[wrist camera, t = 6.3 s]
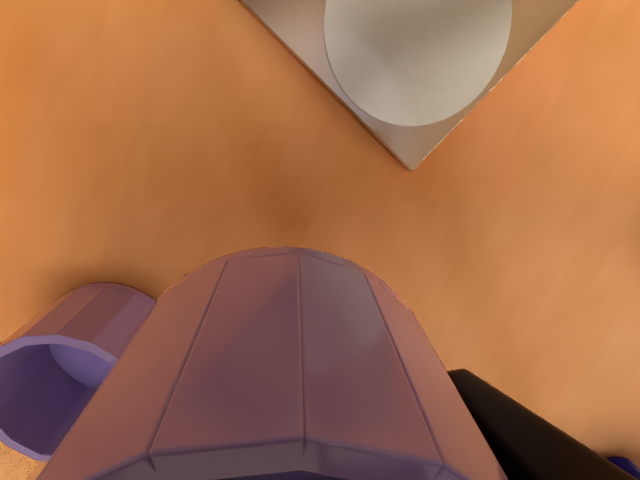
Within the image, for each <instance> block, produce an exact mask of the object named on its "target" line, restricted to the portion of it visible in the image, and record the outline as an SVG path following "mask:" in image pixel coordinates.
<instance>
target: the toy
mask: <svg viewBox="0 0 640 480" xmlns="http://www.w3.org/2000/svg"><path fill="white" fill-rule="evenodd" d="M607 460H608V461H610V462H611V463H613V464H614V465H616V466H618V467H619V468H621V469H622V470H624V471H625V472H627V473H628V474H630V475H632V476H633V477H635V478H636V479H638V480H640V471H639V469H638V468H637V467H636V466H635V465H634V464H633V463H632V462H631V461H630V460H628V459H626V458H623V457H612V458H608V459H607Z"/></svg>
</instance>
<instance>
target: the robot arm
mask: <svg viewBox="0 0 640 480" xmlns="http://www.w3.org/2000/svg"><path fill="white" fill-rule="evenodd" d="M447 373H448V375H449V377H450V378H451V380H452V382H453V383H454V385H455V387H456V389H457V390H458V392H459V394H460V396H461V397H462V399H463V401H464V403H465V404H466V406H467V408H468V410H469V411H470V413H471V415H472V417H473V418H474V420H475V422H476V424H477V425H478V427H479V429H480V431H481V432H482V434H483V436H484V438H485V439H486V441H487V443H488V445H489V446H490V448H491V450H492V452H493V453H494V455H495V457H496V459H497V460H498V462H499V464H500V466H501V467H502V469H503V471H504V473H505V474H506V476H507V478H508V480H638V479H636V478H635V477H633V476H632V475H630V474H628V473H627V472H625V471H624V470H622V469H621V468H619V467H618V466H616V465H614V464H613V463H611V462H610V461H608V460H607V459H605V458H604V457H602V456H600V455H599V454H597V453H596V452H594V451H593V450H591V449H589V448H588V447H586V446H585V445H583V444H582V443H580V442H579V441H577V440H575V439H574V438H572V437H571V436H569V435H568V434H566V433H565V432H563V431H561V430H560V429H558V428H557V427H555V426H554V425H552V424H551V423H549V422H547V421H546V420H544V419H543V418H541V417H540V416H538V415H537V414H535V413H533V412H532V411H530V410H529V409H527V408H526V407H524V406H523V405H521V404H519V403H518V402H516V401H515V400H513V399H512V398H510V397H508V396H507V395H505V394H504V393H502V392H501V391H499V390H498V389H496V388H494V387H493V386H491V385H490V384H488V383H487V382H485V381H484V380H482V379H480V378H479V377H477V376H476V375H474V374H473V373H471V372H470V371H468V370H466V369H457V370H451V371H447Z"/></svg>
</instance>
